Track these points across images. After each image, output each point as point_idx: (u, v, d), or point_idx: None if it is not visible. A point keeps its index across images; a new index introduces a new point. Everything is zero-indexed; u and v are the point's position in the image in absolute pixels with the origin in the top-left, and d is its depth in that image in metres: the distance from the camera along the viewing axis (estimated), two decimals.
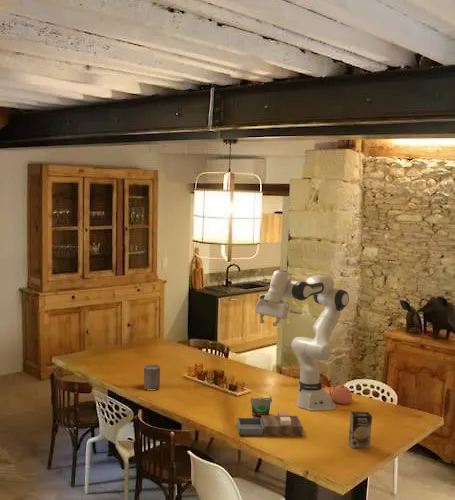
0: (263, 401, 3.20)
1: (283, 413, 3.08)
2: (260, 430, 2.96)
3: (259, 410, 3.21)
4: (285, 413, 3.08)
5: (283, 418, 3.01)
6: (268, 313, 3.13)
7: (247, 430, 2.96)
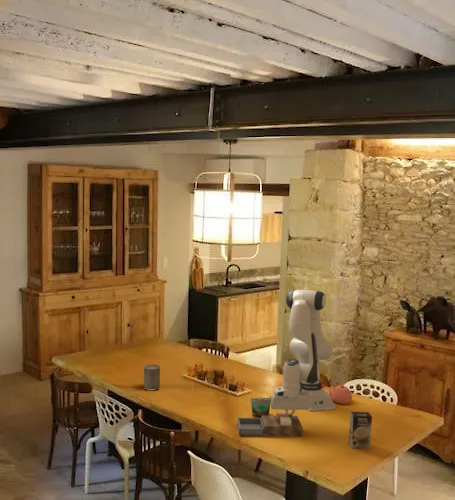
0: (263, 401, 3.20)
1: (282, 413, 3.08)
2: (260, 430, 2.96)
3: (259, 410, 3.21)
4: (284, 413, 3.08)
5: (283, 418, 3.01)
6: (290, 407, 3.05)
7: (247, 430, 2.96)
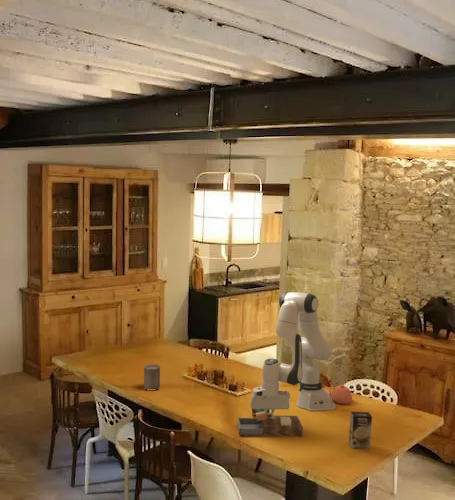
0: None
1: (260, 413, 3.07)
2: (260, 430, 2.96)
3: (259, 410, 3.21)
4: (262, 413, 3.07)
5: (283, 418, 3.01)
6: (269, 407, 3.05)
7: (247, 430, 2.96)
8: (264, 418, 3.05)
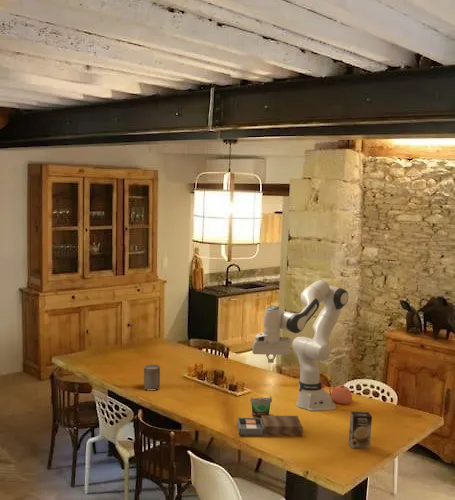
0: (263, 401, 3.20)
1: None
2: (260, 430, 2.96)
3: (259, 410, 3.21)
4: None
5: None
6: (271, 352, 3.15)
7: (247, 430, 2.96)
8: (248, 424, 3.04)
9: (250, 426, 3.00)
